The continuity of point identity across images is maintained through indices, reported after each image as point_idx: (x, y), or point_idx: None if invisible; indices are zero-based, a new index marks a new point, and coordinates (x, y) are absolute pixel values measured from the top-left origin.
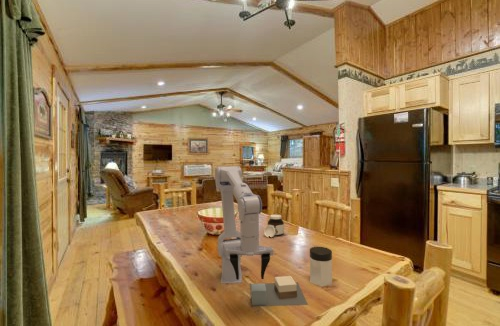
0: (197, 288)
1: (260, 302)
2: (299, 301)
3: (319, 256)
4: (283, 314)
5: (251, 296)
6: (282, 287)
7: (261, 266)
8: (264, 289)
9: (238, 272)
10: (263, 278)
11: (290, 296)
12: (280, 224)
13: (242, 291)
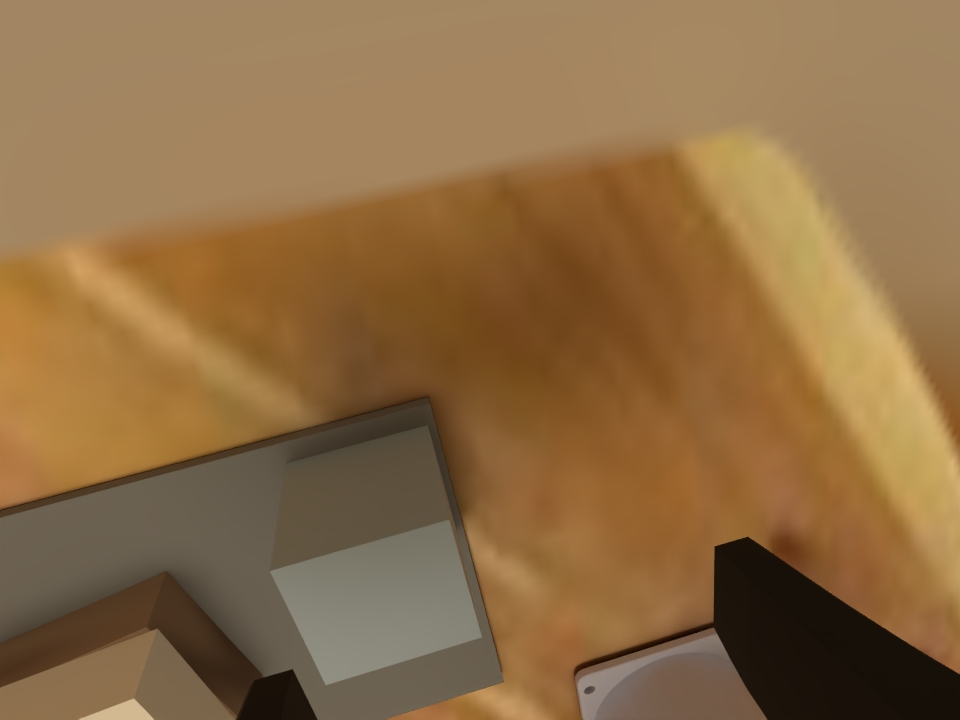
0: (909, 523)
1: (346, 461)
2: None
3: None
4: (61, 369)
5: (459, 536)
6: (100, 691)
7: None
8: (300, 586)
9: (783, 676)
10: (248, 692)
11: (55, 627)
12: None
13: (551, 583)
